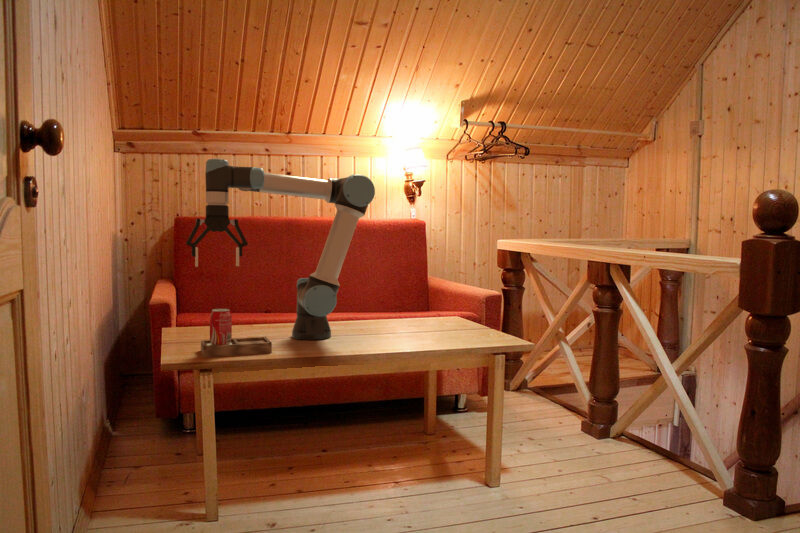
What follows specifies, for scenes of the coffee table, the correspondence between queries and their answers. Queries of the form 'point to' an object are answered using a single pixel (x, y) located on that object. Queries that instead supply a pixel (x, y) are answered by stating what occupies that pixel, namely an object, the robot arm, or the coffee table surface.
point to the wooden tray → (237, 347)
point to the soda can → (220, 327)
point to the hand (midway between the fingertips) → (217, 266)
